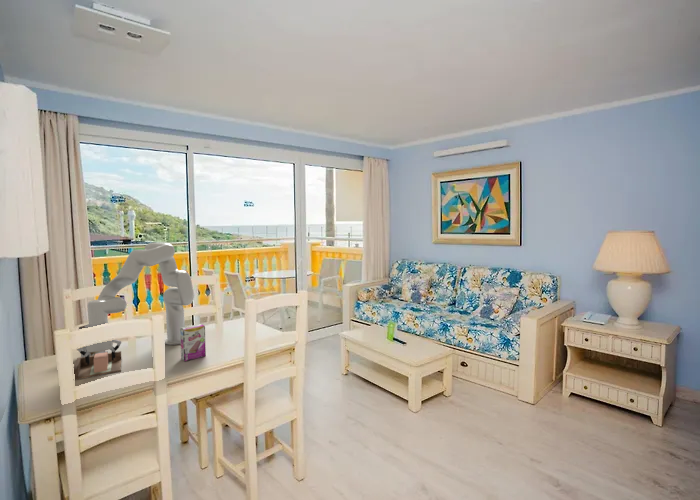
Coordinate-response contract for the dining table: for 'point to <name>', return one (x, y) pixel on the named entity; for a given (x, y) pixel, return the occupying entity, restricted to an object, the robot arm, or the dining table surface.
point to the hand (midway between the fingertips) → (100, 361)
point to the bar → (101, 361)
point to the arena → (88, 370)
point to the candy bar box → (192, 342)
